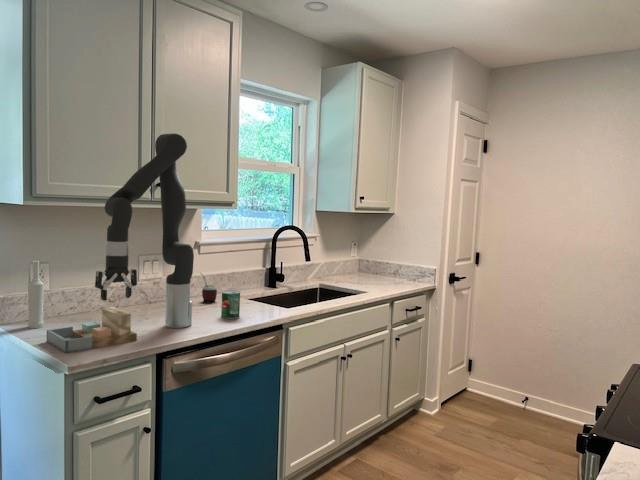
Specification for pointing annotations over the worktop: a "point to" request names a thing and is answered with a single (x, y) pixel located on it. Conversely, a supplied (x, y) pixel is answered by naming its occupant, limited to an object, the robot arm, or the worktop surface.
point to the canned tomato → (230, 304)
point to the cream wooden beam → (116, 320)
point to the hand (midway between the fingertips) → (116, 298)
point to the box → (68, 340)
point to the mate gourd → (209, 292)
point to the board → (106, 338)
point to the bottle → (35, 299)
